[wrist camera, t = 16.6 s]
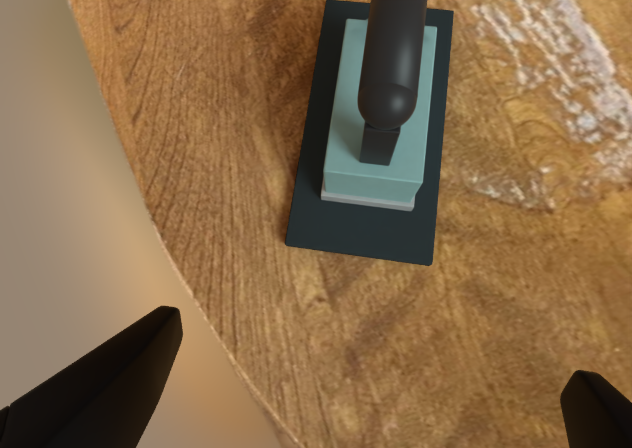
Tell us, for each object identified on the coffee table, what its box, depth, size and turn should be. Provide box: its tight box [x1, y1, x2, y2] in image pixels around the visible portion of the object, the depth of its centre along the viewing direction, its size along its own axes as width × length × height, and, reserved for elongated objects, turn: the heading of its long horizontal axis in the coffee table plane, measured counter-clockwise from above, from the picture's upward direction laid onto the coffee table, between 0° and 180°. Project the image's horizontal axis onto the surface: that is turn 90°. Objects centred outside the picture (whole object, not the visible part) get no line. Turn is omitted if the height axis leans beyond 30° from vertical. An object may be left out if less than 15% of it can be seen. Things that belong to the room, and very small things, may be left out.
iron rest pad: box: [285, 0, 454, 266], centre depth 24 cm, size 16×8×1 cm, turn 171°
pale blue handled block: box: [321, 0, 437, 211], centre depth 19 cm, size 10×5×9 cm, turn 172°
